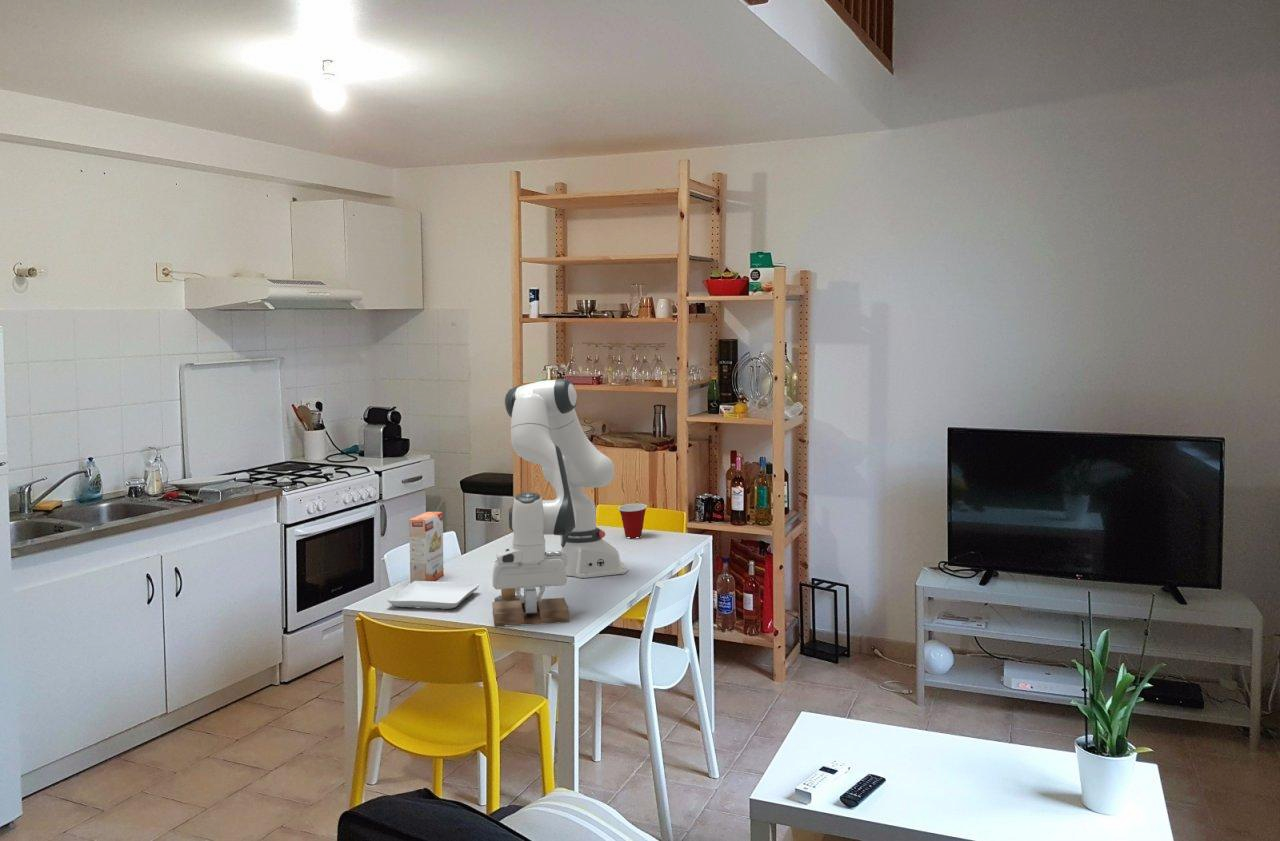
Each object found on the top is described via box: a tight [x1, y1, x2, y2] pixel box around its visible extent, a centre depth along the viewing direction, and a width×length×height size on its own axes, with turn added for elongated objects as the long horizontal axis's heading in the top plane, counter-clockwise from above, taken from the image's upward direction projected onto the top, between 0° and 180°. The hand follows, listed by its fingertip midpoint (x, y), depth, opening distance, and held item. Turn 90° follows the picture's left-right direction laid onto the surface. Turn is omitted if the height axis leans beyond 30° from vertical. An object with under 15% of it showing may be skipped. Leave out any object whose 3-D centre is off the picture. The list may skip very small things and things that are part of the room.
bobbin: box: [494, 559, 519, 602], centre depth 298 cm, size 8×8×12 cm
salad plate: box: [386, 580, 480, 610], centre depth 303 cm, size 21×21×3 cm
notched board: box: [491, 597, 570, 628], centre depth 284 cm, size 20×12×4 cm, turn 101°
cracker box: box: [408, 511, 445, 584], centre depth 326 cm, size 14×6×21 cm, turn 168°
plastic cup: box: [617, 503, 648, 538], centre depth 386 cm, size 11×11×12 cm
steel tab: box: [523, 587, 537, 613], centre depth 282 cm, size 3×5×6 cm, turn 11°
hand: (530, 602), depth 283 cm, fingers closed on steel tab, 3 cm apart
